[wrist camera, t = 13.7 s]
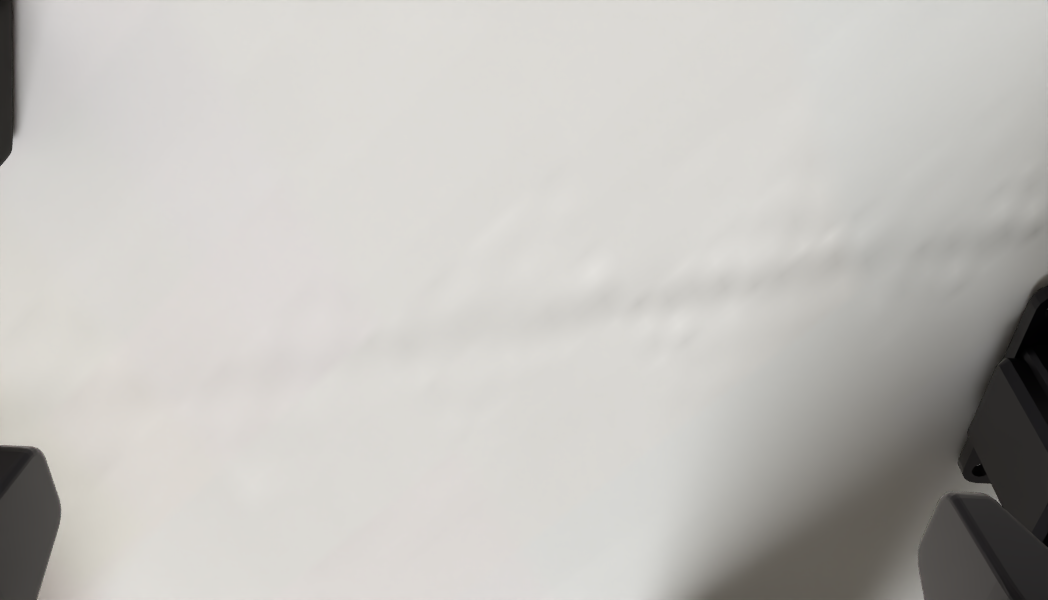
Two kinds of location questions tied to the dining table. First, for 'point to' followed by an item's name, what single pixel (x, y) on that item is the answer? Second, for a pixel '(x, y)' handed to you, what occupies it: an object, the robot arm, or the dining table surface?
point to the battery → (5, 80)
